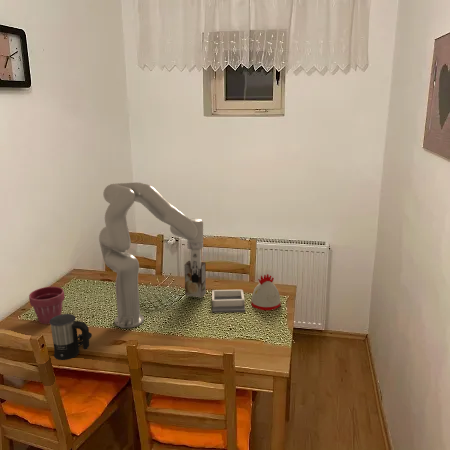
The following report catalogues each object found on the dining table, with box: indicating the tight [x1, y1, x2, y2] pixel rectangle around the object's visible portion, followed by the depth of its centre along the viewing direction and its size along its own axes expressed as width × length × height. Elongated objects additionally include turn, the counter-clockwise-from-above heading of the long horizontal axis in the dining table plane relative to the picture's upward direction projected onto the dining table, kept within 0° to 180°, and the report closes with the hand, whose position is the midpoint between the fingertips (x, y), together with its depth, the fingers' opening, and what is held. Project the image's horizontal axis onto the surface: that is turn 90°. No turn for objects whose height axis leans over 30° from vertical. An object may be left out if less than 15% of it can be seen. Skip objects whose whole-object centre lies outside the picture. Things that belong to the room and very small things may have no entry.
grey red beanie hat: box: [250, 273, 281, 311], centre depth 210 cm, size 14×14×15 cm
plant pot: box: [28, 286, 66, 325], centre depth 197 cm, size 14×14×13 cm
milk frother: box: [49, 313, 93, 361], centre depth 173 cm, size 14×16×15 cm
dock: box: [211, 289, 246, 314], centre depth 213 cm, size 20×15×4 cm
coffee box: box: [184, 260, 207, 298], centre depth 217 cm, size 9×6×16 cm
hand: (195, 278), depth 217 cm, fingers closed on coffee box, 7 cm apart
